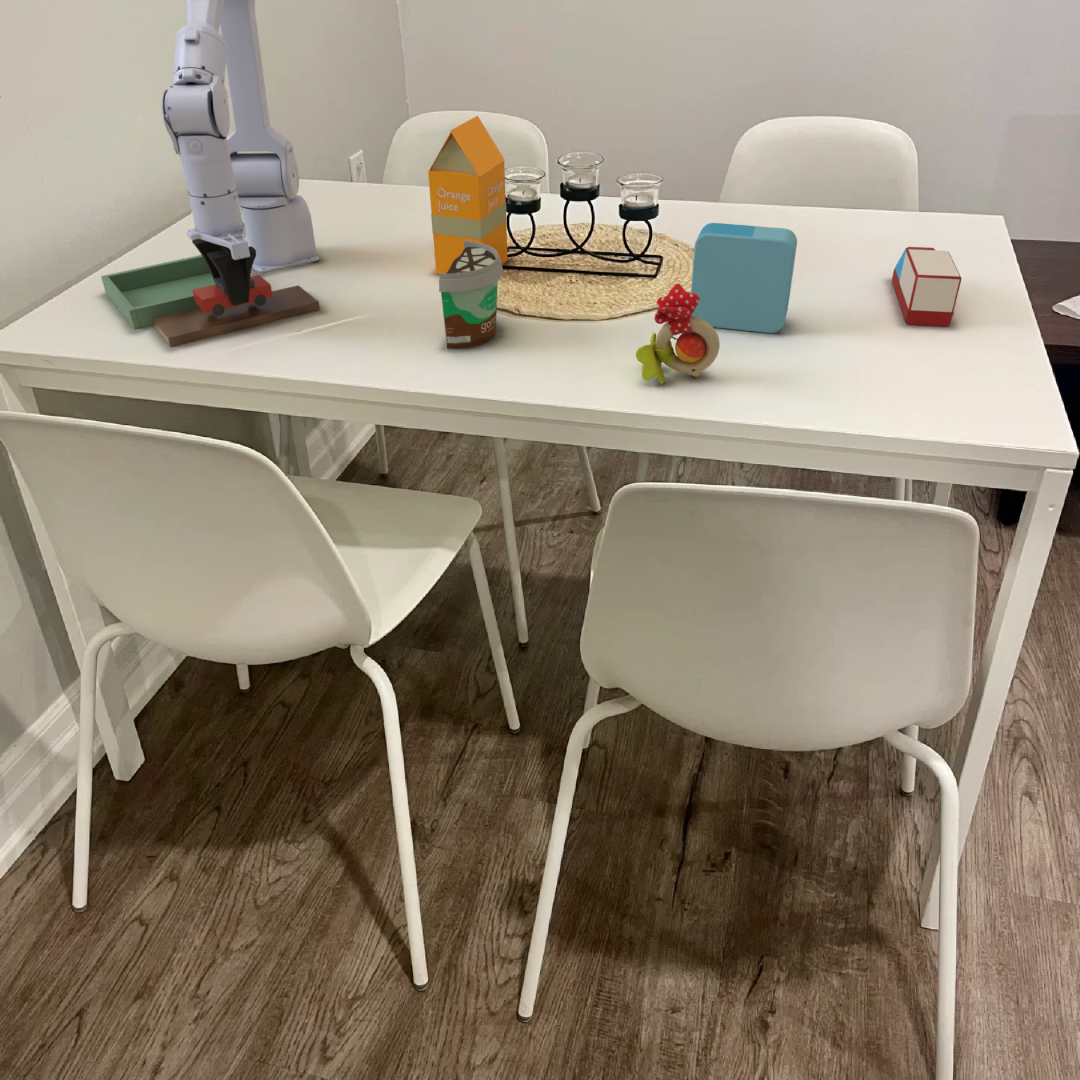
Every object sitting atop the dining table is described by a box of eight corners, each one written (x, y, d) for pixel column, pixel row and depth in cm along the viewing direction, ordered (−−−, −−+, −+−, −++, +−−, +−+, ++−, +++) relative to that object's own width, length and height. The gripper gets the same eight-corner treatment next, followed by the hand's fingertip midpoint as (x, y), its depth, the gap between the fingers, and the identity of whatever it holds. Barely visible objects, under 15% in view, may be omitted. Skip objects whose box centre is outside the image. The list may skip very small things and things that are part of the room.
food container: (492, 357, 122) (488, 278, 116) (443, 353, 123) (437, 275, 117) (514, 316, 131) (512, 241, 125) (469, 313, 132) (465, 239, 126)
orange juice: (435, 274, 144) (423, 128, 132) (461, 253, 151) (452, 113, 139) (484, 281, 142) (477, 133, 130) (509, 259, 148) (504, 117, 136)
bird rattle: (693, 379, 120) (626, 349, 119) (740, 301, 114) (669, 268, 113) (693, 404, 115) (623, 373, 114) (742, 324, 109) (667, 290, 108)
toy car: (262, 292, 134) (257, 267, 132) (274, 302, 131) (269, 277, 129) (196, 307, 130) (190, 282, 128) (206, 318, 127) (201, 293, 125)
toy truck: (931, 283, 139) (942, 236, 135) (950, 327, 127) (962, 277, 123) (891, 281, 139) (900, 234, 135) (905, 325, 127) (916, 275, 123)
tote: (222, 269, 146) (218, 251, 145) (257, 301, 137) (253, 282, 135) (106, 295, 139) (100, 275, 138) (134, 331, 129) (129, 310, 128)
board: (300, 295, 138) (298, 285, 137) (320, 312, 133) (318, 301, 133) (155, 329, 129) (152, 319, 129) (171, 349, 125) (168, 338, 124)
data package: (786, 321, 129) (799, 228, 122) (782, 335, 125) (795, 241, 118) (693, 311, 132) (701, 221, 125) (688, 325, 128) (695, 232, 121)
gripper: (162, 182, 125) (186, 286, 133) (198, 212, 115) (222, 322, 123) (217, 172, 128) (237, 274, 136) (257, 201, 118) (276, 309, 126)
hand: (233, 297), depth 129 cm, fingers closed on toy car, 4 cm apart
